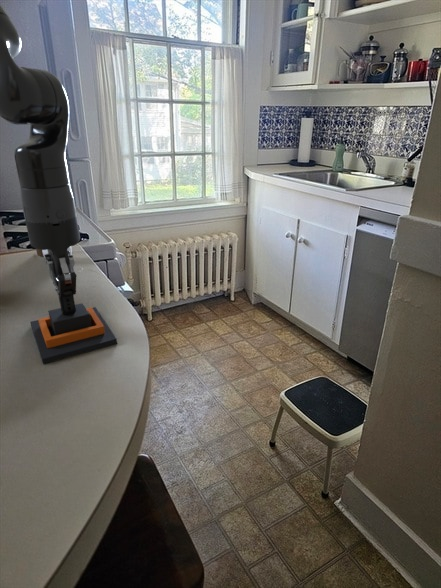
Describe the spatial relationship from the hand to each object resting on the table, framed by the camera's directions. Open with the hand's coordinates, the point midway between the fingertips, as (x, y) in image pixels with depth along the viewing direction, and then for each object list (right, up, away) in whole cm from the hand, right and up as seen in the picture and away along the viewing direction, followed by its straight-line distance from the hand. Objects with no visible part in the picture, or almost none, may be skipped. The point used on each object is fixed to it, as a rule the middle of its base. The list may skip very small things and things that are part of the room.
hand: (69, 312), depth 68 cm
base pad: (0, -4, +2) cm, 5 cm away
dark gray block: (0, -3, +2) cm, 4 cm away
